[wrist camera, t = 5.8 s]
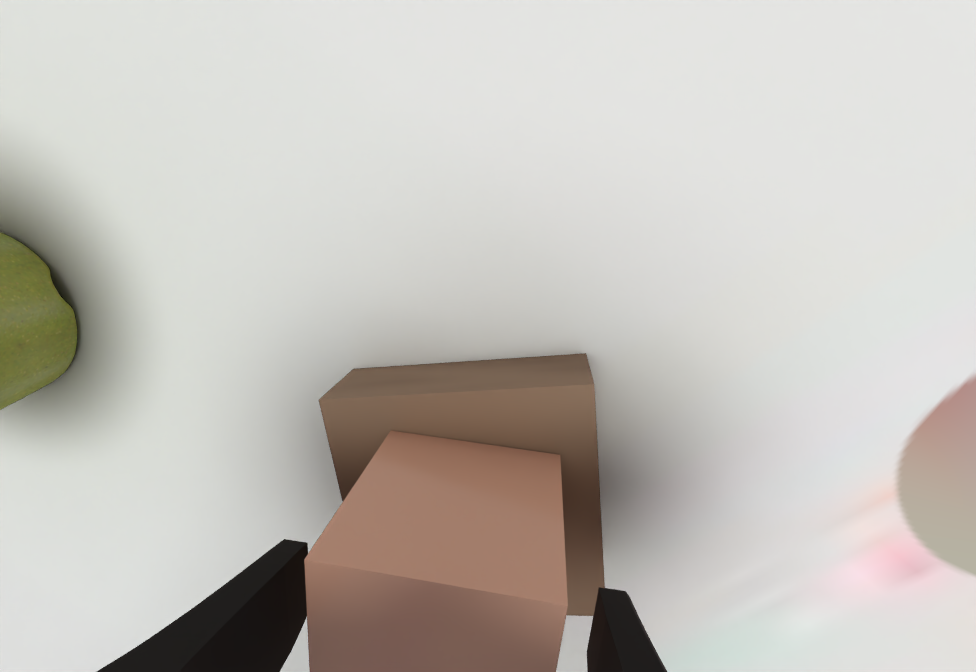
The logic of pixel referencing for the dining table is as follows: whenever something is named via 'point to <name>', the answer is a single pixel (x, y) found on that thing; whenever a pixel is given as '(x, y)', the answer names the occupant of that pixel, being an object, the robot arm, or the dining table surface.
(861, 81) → the dining table surface
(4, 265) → the plant pot
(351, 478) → the walnut block
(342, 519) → the terracotta cube
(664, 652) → the dining table surface
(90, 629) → the dining table surface
